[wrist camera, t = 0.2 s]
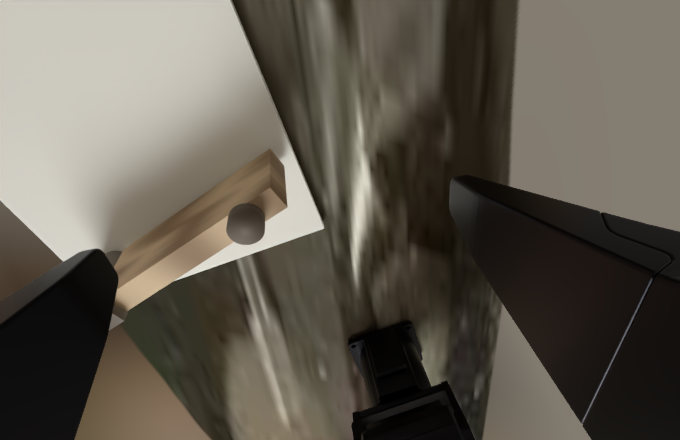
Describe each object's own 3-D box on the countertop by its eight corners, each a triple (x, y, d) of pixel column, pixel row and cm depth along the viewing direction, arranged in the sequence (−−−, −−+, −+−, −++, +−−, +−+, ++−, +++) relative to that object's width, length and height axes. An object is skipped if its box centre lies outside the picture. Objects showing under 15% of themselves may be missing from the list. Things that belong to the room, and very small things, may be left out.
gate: (119, 280, 25) (81, 354, 20) (95, 265, 24) (50, 338, 19) (286, 168, 22) (290, 220, 17) (267, 145, 21) (267, 194, 16)
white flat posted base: (323, 222, 26) (338, 288, 21) (111, 296, 27) (68, 380, 21) (186, -111, 16) (137, -166, 10) (-162, 24, 16) (-401, 45, 10)
